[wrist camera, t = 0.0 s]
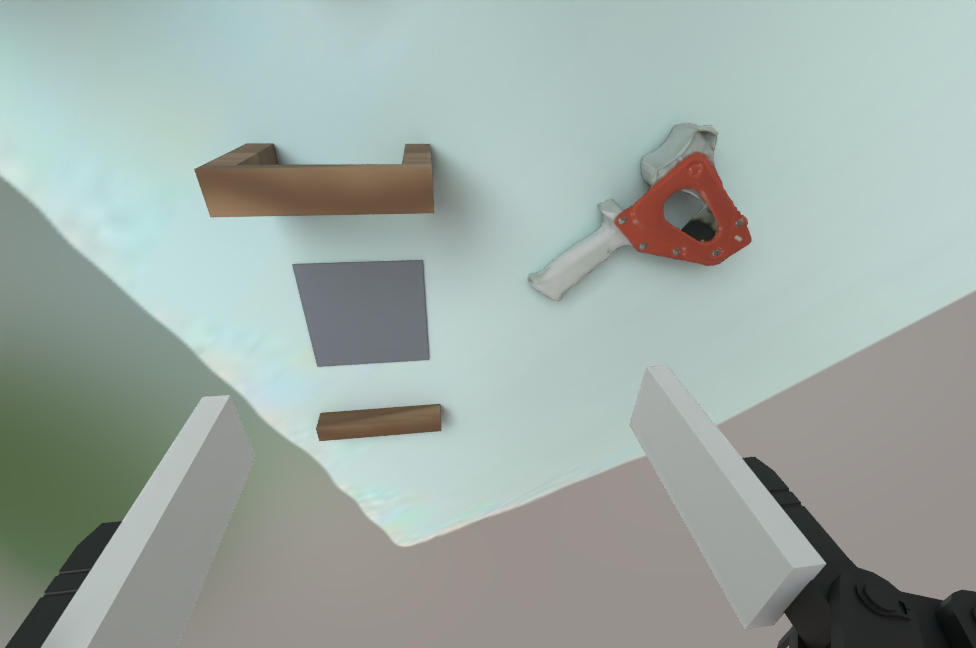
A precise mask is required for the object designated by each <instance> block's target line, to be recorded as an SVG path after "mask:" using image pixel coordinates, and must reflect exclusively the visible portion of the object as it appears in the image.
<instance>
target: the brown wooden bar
mask: <svg viewBox="0 0 976 648" xmlns="http://www.w3.org/2000/svg"><path fill="white" fill-rule="evenodd" d="M316 431H317V434H318V438H319V441H327V440H339V439H351V438H363V437H375V436H387V435H399V434H411V433H423V432H435V431H441V414H440V404H434V405H421V406H408V407H395V408H381V409H368V410H355V411H341V412H328V413H320V417H319V420H318V424H317V427H316Z"/></svg>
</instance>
